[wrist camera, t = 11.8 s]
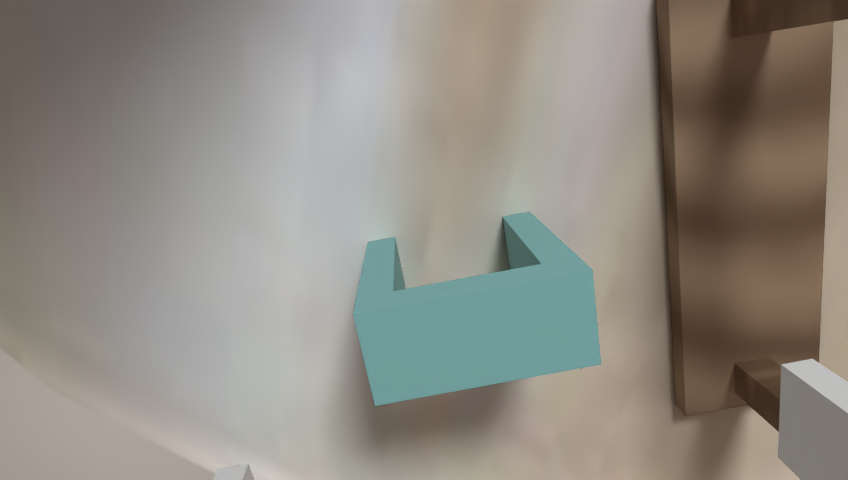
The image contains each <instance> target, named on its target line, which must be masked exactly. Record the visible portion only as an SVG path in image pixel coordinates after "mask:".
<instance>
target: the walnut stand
mask: <svg viewBox="0 0 848 480" xmlns="http://www.w3.org/2000/svg"><path fill="white" fill-rule="evenodd" d="M656 7H657V28H658V49H659V70H660V91H661V112H662V133H663V154H664V175H665V196H666V217H667V238H668V259H669V280H670V301H671V322H672V343H673V364H674V385H675V404H676V406H677V407H678V408H679V409H680V410H681V411H682V412H683V414H684V415H685V416H689V415H695V414H700V413H706V412H711V411H716V410H722V409H727V408H733V407H738V406H743V405H749V406H750V407H752V408H753V409H754V410H755V411H756V412H757V413H758V414H759V415H760V416H762V417H763V418H764V419H765V420H766V421H767V422H768V423H769V424H771V425H772V426H773V427H774V428H775V429H776V430H777V431H778V432H779V414H780V385H781V364H786V363H792V362H797V361H803V360H808V359H814V360H815V361H817V362H818V363H819V345H820V322H821V299H822V276H823V253H824V229H825V206H826V183H827V160H828V137H829V114H830V91H831V68H832V45H833V21H838V20H844V19H848V0H656Z"/></svg>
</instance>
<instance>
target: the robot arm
mask: <svg viewBox="0 0 848 480" xmlns="http://www.w3.org/2000/svg"><path fill="white" fill-rule="evenodd" d="M778 458H779V459H780V460H781V461H782V462H784V463H785V464H786V465H787V466H788V467H789V468H790V469H791V470H792V471H793V472H794V473H795V474H796V475H797V476H798V477H799V478H800V479H801V480H848V382H847V381H845V380H844V379H842V378H841V377H839V376H838V375H836V374H835V373H833V372H832V371H830V370H829V369H827V368H826V367H824V366H823V365H821V364H820V363H818V362H817V361H815V360H814V359H808V360H803V361H797V362H792V363H786V364H781V385H780V414H779V443H778ZM213 480H254V478H253V475H252V472H251V470H250V467H249V464H244V465H238V466H233V467H228V468H222V469H217V472H216V474H215V476H214V478H213Z"/></svg>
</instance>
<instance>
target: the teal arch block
mask: <svg viewBox="0 0 848 480" xmlns="http://www.w3.org/2000/svg"><path fill="white" fill-rule="evenodd" d="M503 223H504V230H505V237H506V244H507V251H508V258H509V266H510V270H505V271H500V272H495V273H489V274H484V275H479V276H473V277H468V278H463V279H457V280H452V281H446V282H441V283H436V284H430V285H425V286H420V287H414V288H409V289H406V288H405V283H404V279H403V274H402V269H401V264H400V259H399V254H398V249H397V245H396V240H395V237H392V238H387V239H382V240H376V241H371V242H368V245H367V249H366V254H365V259H364V264H363V268H362V273H361V278H360V282H359V287H358V292H357V297H356V301H355V306H354V311H353V317H354V321H355V325H356V329H357V334H358V338H359V342H360V346H361V350H362V354H363V358H364V363H365V367H366V371H367V375H368V379H369V383H370V388H371V392H372V396H373V400H374V404H375V406H378V405H384V404H389V403H394V402H400V401H405V400H411V399H416V398H421V397H427V396H432V395H438V394H443V393H448V392H454V391H459V390H465V389H470V388H475V387H481V386H486V385H492V384H497V383H503V382H508V381H513V380H519V379H524V378H530V377H535V376H540V375H546V374H551V373H557V372H562V371H567V370H573V369H578V368H584V367H589V366H594V365H600V364H601V357H600V347H599V336H598V325H597V314H596V304H595V293H594V282H593V271H592V269H591V268H590V267H589V266H588V265H587V264H586V263H585V262H584V261H583V260H582V259H580V258H579V257H578V256H577V255H576V254H575V253H574V252H573V251H572V250H571V249H570V248H568V247H567V246H566V245H565V244H564V243H563V242H562V241H561V240H560V239H559V238H558V237H556V236H555V235H554V234H553V233H552V232H551V231H550V230H549V229H548V228H547V227H546V226H544V225H543V224H542V223H541V222H540V221H539V220H538V219H537V218H536V217H535V216H534V215H532V214H531V213H530V212H526V213H521V214H515V215H510V216H505V217H503Z"/></svg>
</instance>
